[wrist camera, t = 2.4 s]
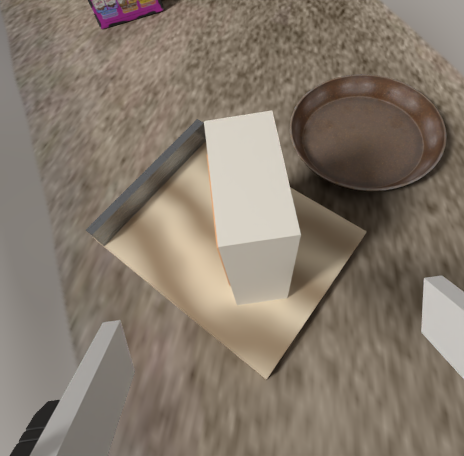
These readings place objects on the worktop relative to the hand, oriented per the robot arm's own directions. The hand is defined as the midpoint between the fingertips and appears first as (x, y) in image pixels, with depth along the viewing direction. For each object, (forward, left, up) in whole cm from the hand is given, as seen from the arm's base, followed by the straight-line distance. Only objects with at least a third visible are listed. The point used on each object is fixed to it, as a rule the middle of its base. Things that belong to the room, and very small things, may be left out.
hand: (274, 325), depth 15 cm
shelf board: (-6, -12, -20) cm, 24 cm away
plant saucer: (-27, -10, -21) cm, 35 cm away
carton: (-6, -8, -19) cm, 21 cm away
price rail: (-4, -23, -19) cm, 30 cm away
